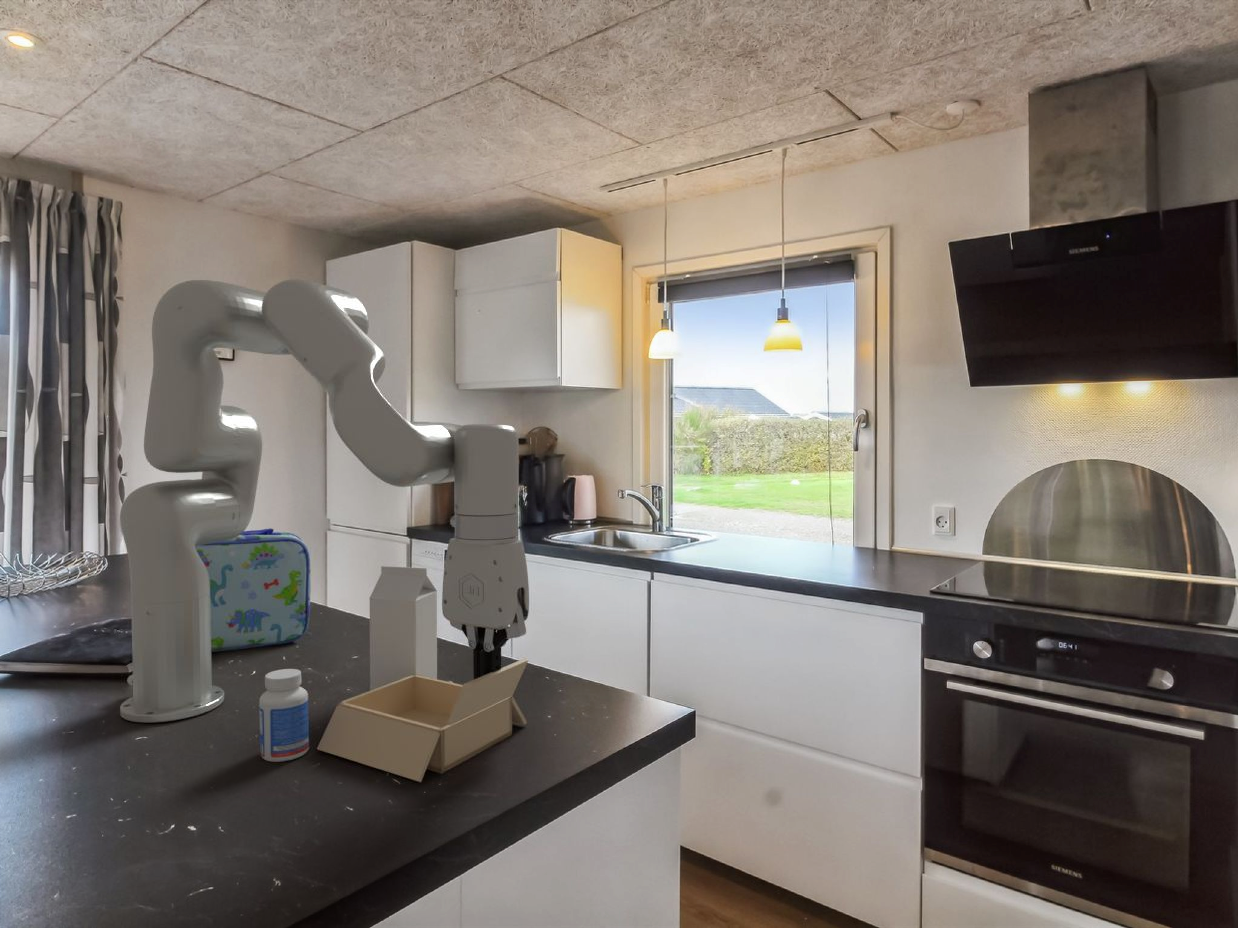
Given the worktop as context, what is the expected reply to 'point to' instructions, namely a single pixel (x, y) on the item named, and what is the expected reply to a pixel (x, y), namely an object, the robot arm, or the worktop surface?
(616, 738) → the worktop surface
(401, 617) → the milk carton
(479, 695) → the flap
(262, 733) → the pill bottle
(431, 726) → the carton
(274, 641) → the lunch box
